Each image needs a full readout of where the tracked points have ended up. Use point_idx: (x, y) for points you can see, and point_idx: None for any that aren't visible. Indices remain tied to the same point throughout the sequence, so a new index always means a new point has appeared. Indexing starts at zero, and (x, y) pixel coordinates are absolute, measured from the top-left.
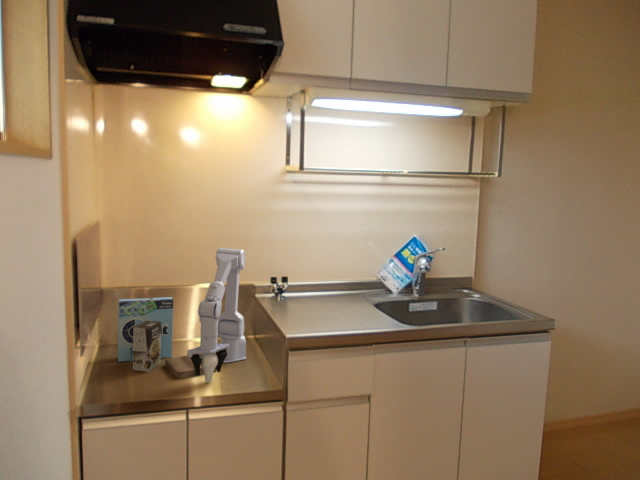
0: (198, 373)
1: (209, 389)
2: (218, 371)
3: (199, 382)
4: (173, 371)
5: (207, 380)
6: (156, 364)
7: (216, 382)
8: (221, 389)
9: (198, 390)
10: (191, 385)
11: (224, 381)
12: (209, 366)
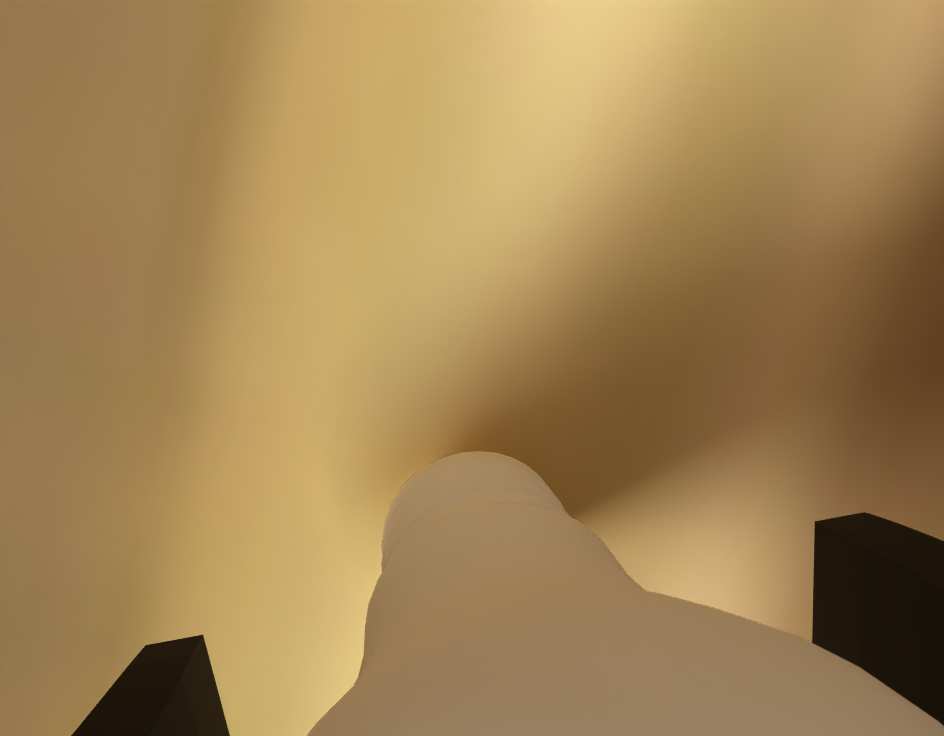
0: (927, 539)
1: (551, 133)
2: (197, 654)
3: (639, 562)
4: None
5: (529, 475)
6: None
7: (283, 466)
8: (254, 14)
9: (801, 170)
10: (835, 468)
11: (73, 468)
12: (712, 615)
